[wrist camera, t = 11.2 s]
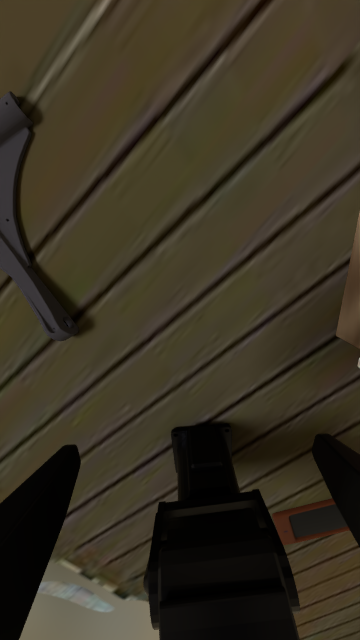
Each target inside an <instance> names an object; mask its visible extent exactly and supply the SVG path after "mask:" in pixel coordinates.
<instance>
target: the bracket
mask: <svg viewBox="0 0 360 640" xmlns="http://www.w3.org/2000/svg"><path fill="white" fill-rule="evenodd" d="M19 104H20V102H19V100H18V99H17V97H16V96H15V95H14V94H13V93H12V92H8V93H7V94H6V95H4V96H3V97H2V98H1V99H0V268H1V269H2V270H3V271H5V272H6V273H7V274H8V275H10V276H11V277H12V278H13V280H14V281H15V283H16V284H17V285H18V287H19V288H20V290H21V291H22V293H23V294H24V296H25V298H26V299H27V301H28V303H29V304H30V306H31V308H32V309H33V311H34V313H35V314H36V316H37V318H38V319H39V321H40V323H41V325H42V327H43V329H44V331H45V332H46V334H47V335H48V336H49V337H51V338H52V339H54V340H57V341H64V340H66V339H68V338H70V337H72V336H73V335H75V334H77V333H78V331H79V328H78V326H77V325H76V324H75V323H74V321H73V320H72V319H71V318H70V316H69V315H68V314H67V313H66V311H65V310H64V309H63V307H62V306H61V305H60V304H59V302H58V301H57V300H56V299H55V297H54V296H53V295H52V293H51V292H50V291H49V290H48V288H47V287H46V286H45V285H44V283H43V282H42V281H41V280H40V278H39V277H38V276H37V274H36V273H35V272H34V271H33V269H32V268H31V267H30V266H31V265H32V264H31V262H30V259H29V257H28V254H27V252H26V250H25V247H24V245H23V242H22V238H21V235H20V231H19V227H18V223H17V218H16V187H17V179H18V174H19V169H20V165H21V162H22V159H23V156H24V153H25V150H26V148H27V146H28V143H29V141H30V138H31V136H32V134H31V132H30V130H29V129H28V128H29V127H30V126H31V125H32V124H33V122H32V121H31V120H30V119H28V118H27V117H26V115H25V114H24V113H23V112H22V111H21V109H20V108H19V107H18V105H19ZM63 320H64V321H66V322H67V324H68V326H69V327H67V326H66V324H65V323H64V322H63Z"/></svg>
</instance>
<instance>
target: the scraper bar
mask: <svg viewBox="0 0 360 640" xmlns="http://www.w3.org/2000/svg"><path fill="white" fill-rule="evenodd" d="M336 336H337V337H339V338H341V339H343V340H344V341H346V342H348V343H350V344H352V345H353V346H355V347H357V348H359V349H360V213H359V218H358V223H357V228H356V233H355V239H354V244H353V249H352V254H351V259H350V264H349V270H348V275H347V280H346V285H345V290H344V295H343V300H342V306H341V311H340V316H339V321H338V326H337V331H336Z"/></svg>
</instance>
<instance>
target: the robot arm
mask: <svg viewBox="0 0 360 640" xmlns="http://www.w3.org/2000/svg"><path fill="white" fill-rule="evenodd" d="M175 433H177V434H175ZM171 437H172V445H173V453H174V461H175V468H176V472H177V473H178V501H174V502H165V501H164V502H159V505H158V512H157V513H156V517H155V523H154V530H153V537H152V543H151V550H150V556H149V561H148V564H147V568H146V572H145V576H144V590H145V592H146V594H147V595H148V597H149V605H150V616H151V623H152V627H153V629H154V630H158V629H159V635H160V640H300V639H299V635H298V631H297V627H296V624H295V620H294V616H293V614H295V613H299V612H300V604H299V598H298V594H297V589H296V585H295V581H294V577H293V574H292V571H291V567H290V564H289V561H288V558H287V555H286V552H285V549H284V547H283V544H282V542H281V539H280V537H279V535H278V532H277V530H276V528H275V525H274V523H273V521H272V519H271V516H270V514H269V512H268V509H267V507H266V505H265V503H264V500H263V498H262V496H261V493H260V491H259V489H255V490H252V491H250V492H243V493H240V490H239V486H238V483H237V479H236V475H235V472H234V468H233V464H232V430H231V426H230V425H229V424H220V425H209V426H197V427H186V428H175V429H173V430H172V431H171ZM312 454H313V457H314V459H315V461H316V464H317V466H318V468H319V470H320V472H321V474H322V476H323V478H324V481H325V483H326V485H327V487H328V489H329V491H330V493H331V496H332V498H333V500H334V502H335V504H336V506H337V508H338V509H339V511H340V513H341V515H342V517H343V518H344V520H345V522H346V524H347V525H348V527H349V529H350V531H351V532H352V534H353V536H354V538H355V540H356V541H357V543H358V545H359V547H360V454H358V453H357V452H355V451H354V450H352V449H351V448H349V447H348V446H346V445H345V444H343V443H342V442H340V441H339V440H337V439H336V438H334V437H333V436H331V435H329V434H317V435H316V436H315V439H314V443H313V447H312ZM80 464H81V460H80V456H79V452H78V448H77V446H76V445H75V444H73V445H64V446H63V447H62V448H61V449H59V450H58V451H57V452H56V453H55V454H54V455H53V456H52V457H51V458H50V459H48V460H47V461H46V462H45V463H44V464H43V465H42V466H41V467H40V468H39V469H38V470H36V471H35V472H34V473H33V474H32V475H31V476H30V477H29V478H28V479H27V480H26V481H24V482H23V483H22V484H21V485H20V486H19V487H18V488H17V489H16V490H15V491H13V492H12V493H11V494H10V495H9V496H8V497H7V498H6V499H5V500H4V501H3V502H1V503H0V640H19V638H20V636H21V633H22V630H23V628H24V625H25V623H26V620H27V617H28V614H29V612H30V609H31V606H32V604H33V602H34V599H35V596H36V594H37V591H38V588H39V586H40V583H41V581H42V578H43V575H44V572H45V570H46V567H47V565H48V562H49V560H50V557H51V554H52V552H53V549H54V546H55V544H56V541H57V539H58V536H59V533H60V531H61V528H62V525H63V523H64V520H65V517H66V514H67V510H68V507H69V504H70V500H71V497H72V493H73V490H74V486H75V483H76V479H77V476H78V472H79V469H80Z"/></svg>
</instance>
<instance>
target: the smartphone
mask: <svg viewBox="0 0 360 640" xmlns="http://www.w3.org/2000/svg"><path fill="white" fill-rule="evenodd" d="M272 516H273V519H274V522H275V525H276V528H277V532H278V535H279V537H280V539H281V542H282V544H283V545H287V544H293V543H298V542H302V541H306V540H310V539H315V538H319V537H323V536H327V535H331V534H336V533H340V532H344V531H348V530H350V529H349V527H348V525H347V524H346V522H345V520H344V518H343V517H342V515H341V513H340V511H339V509H338V508H337V506H336V504H335V502H334V500H333V498H332V499H328V500H324V501H320V502H316V503H312V504H308V505H304V506H300V507H296V508H292V509H288V510H284V511H280V512H276V513H273V514H272Z"/></svg>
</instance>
